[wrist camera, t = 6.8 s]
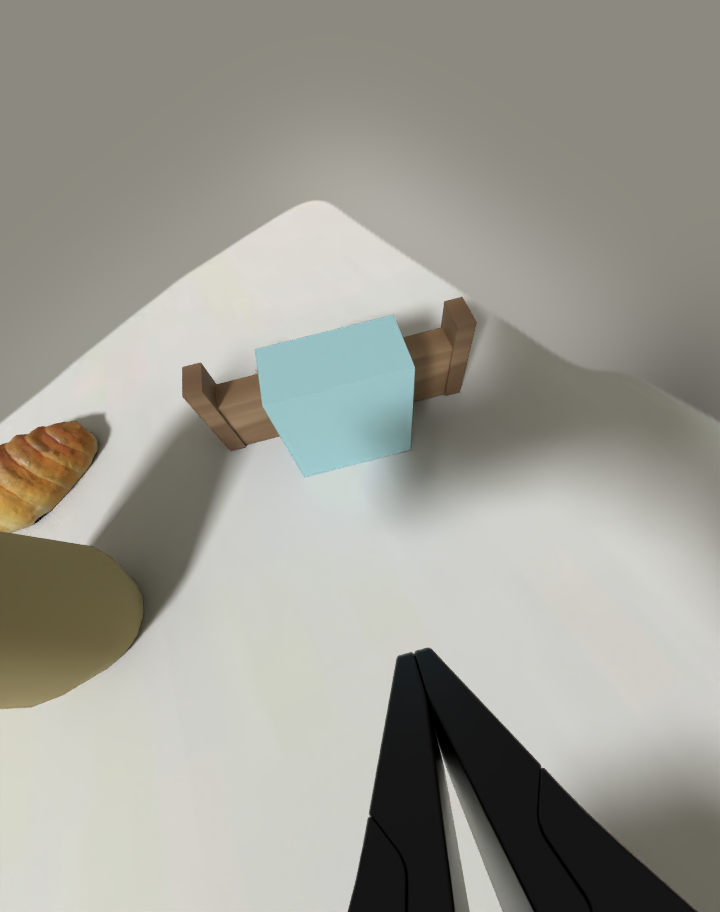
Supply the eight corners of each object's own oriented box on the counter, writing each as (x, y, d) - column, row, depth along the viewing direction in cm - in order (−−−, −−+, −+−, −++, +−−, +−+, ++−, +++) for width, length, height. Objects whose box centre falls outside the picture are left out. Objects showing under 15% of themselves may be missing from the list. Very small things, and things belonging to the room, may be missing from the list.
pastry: (78, 417, 31) (39, 390, 28) (120, 458, 29) (83, 435, 26) (-24, 498, 28) (-82, 479, 25) (13, 552, 26) (-45, 539, 23)
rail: (459, 392, 28) (476, 322, 22) (230, 450, 28) (182, 396, 22) (449, 369, 29) (462, 296, 23) (228, 425, 29) (182, 367, 23)
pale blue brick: (410, 449, 26) (414, 367, 18) (304, 477, 26) (262, 406, 18) (382, 368, 30) (375, 270, 22) (288, 392, 30) (248, 302, 22)
